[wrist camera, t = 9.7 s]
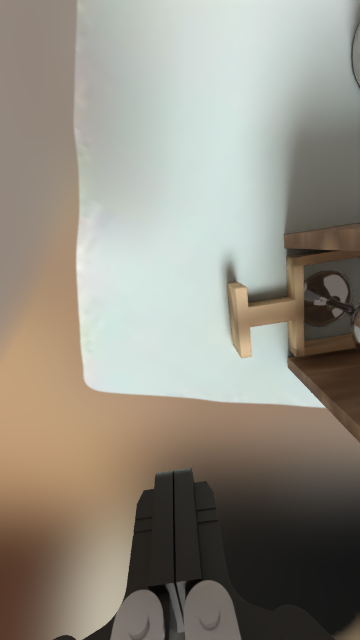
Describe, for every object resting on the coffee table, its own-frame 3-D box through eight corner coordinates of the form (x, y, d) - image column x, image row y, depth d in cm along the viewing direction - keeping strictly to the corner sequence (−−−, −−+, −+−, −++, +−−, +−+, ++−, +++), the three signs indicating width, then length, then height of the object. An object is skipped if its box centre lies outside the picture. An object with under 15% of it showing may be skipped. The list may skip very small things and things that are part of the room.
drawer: (225, 266, 30) (233, 269, 26) (388, 240, 30) (421, 240, 26) (234, 358, 33) (242, 374, 29) (380, 336, 33) (407, 348, 29)
